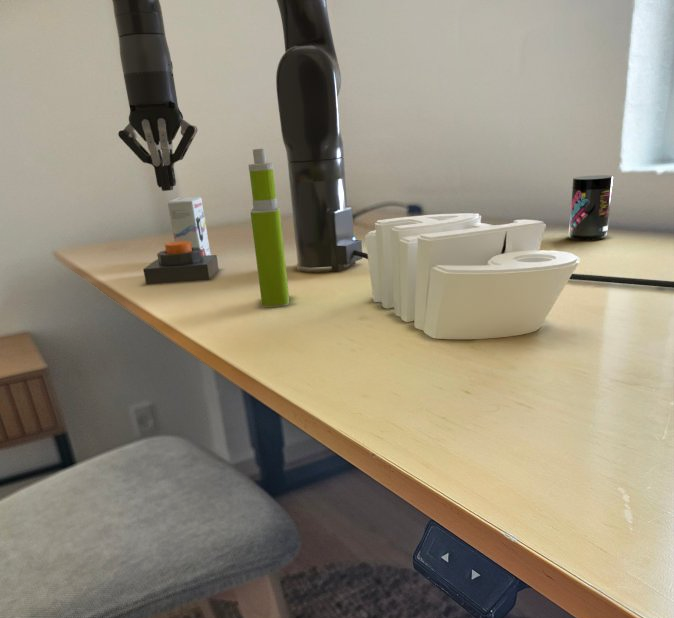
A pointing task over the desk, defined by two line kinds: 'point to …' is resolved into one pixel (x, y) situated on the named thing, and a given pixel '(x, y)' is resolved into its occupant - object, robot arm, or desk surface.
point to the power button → (178, 247)
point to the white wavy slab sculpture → (466, 274)
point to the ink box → (189, 222)
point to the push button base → (181, 267)
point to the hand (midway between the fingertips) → (167, 190)
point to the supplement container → (590, 207)
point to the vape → (267, 233)
